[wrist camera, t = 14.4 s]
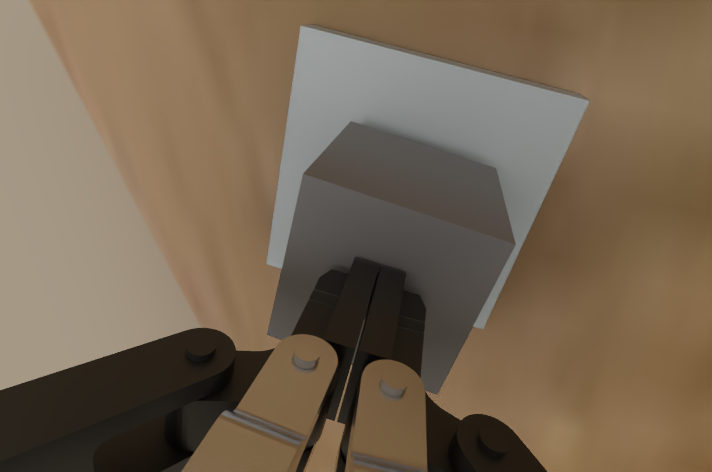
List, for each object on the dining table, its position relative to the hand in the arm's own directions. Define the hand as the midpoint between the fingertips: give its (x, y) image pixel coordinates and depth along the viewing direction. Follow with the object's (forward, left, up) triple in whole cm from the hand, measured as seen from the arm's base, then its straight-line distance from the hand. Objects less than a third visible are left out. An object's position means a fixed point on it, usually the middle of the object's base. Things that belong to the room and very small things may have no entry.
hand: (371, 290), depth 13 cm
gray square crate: (0, 0, -6) cm, 6 cm away
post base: (0, 0, -9) cm, 9 cm away
